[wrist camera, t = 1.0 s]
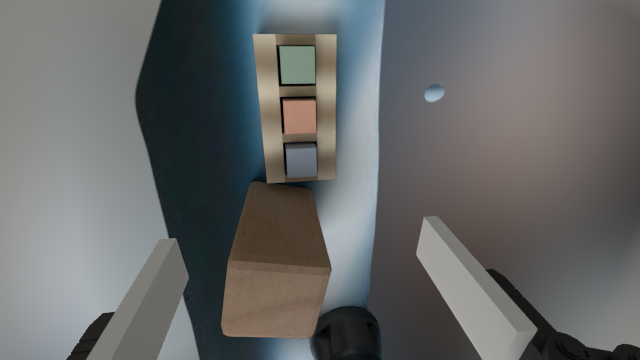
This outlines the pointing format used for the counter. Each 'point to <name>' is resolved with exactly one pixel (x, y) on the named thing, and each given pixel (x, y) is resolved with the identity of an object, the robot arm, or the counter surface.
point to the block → (276, 265)
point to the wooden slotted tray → (319, 90)
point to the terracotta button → (299, 115)
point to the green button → (297, 64)
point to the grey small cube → (301, 159)
